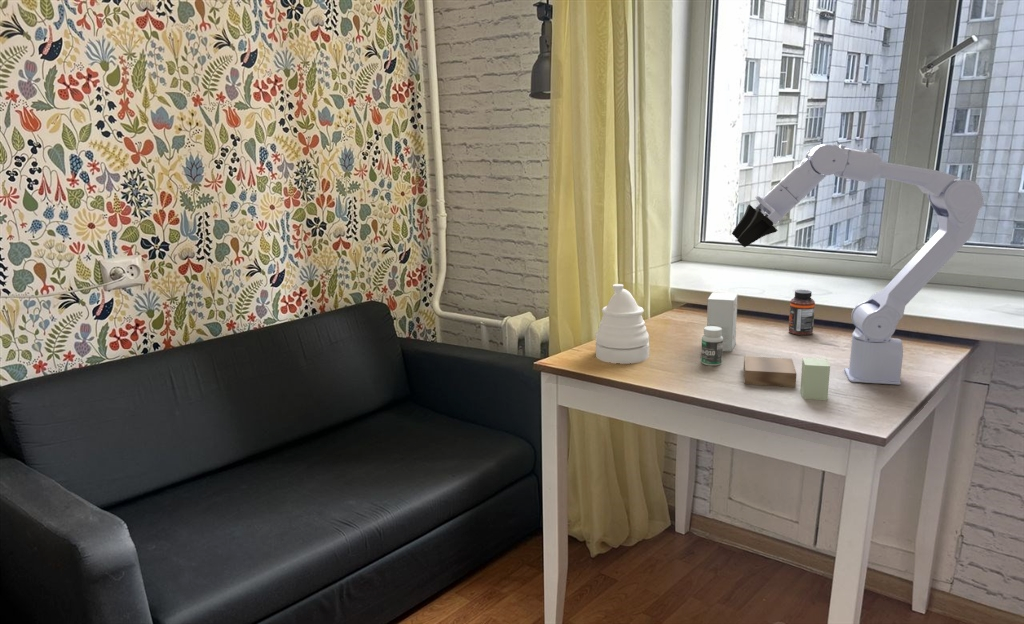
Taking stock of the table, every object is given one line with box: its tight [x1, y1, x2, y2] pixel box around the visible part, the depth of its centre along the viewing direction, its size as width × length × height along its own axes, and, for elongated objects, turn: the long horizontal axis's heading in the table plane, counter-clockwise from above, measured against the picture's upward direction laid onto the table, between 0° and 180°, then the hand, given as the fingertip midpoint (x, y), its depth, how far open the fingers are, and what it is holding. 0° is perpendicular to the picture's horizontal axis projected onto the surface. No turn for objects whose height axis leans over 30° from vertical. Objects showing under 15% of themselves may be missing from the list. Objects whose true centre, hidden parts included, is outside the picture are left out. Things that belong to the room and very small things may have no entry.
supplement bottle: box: [788, 289, 816, 336], centre depth 176 cm, size 6×6×11 cm
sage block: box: [799, 357, 831, 401], centre depth 133 cm, size 4×4×7 cm
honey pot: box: [595, 283, 650, 365], centre depth 162 cm, size 13×13×18 cm
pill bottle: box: [700, 325, 724, 367], centre depth 155 cm, size 5×5×8 cm
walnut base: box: [743, 355, 797, 388], centre depth 145 cm, size 10×10×3 cm
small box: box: [706, 291, 739, 352], centre depth 167 cm, size 8×6×13 cm
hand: (737, 240), depth 142 cm, fingers open, 7 cm apart
